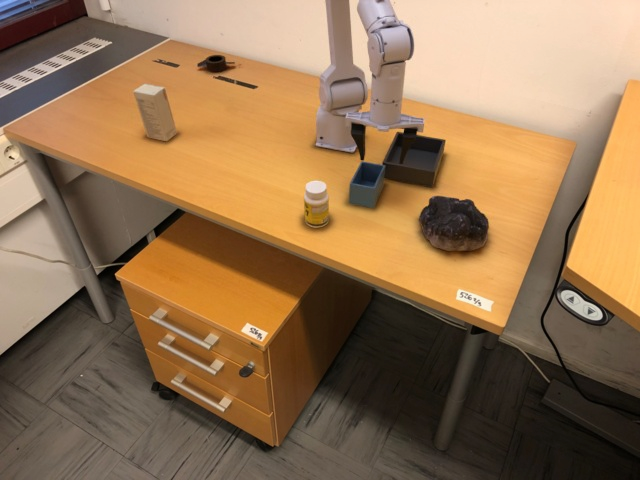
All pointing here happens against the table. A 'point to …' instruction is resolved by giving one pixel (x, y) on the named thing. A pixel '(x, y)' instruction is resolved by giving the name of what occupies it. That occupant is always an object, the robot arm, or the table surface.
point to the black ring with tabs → (215, 63)
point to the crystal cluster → (454, 224)
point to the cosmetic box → (155, 112)
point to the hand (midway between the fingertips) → (381, 159)
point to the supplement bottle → (316, 204)
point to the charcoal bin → (414, 160)
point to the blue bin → (367, 184)
